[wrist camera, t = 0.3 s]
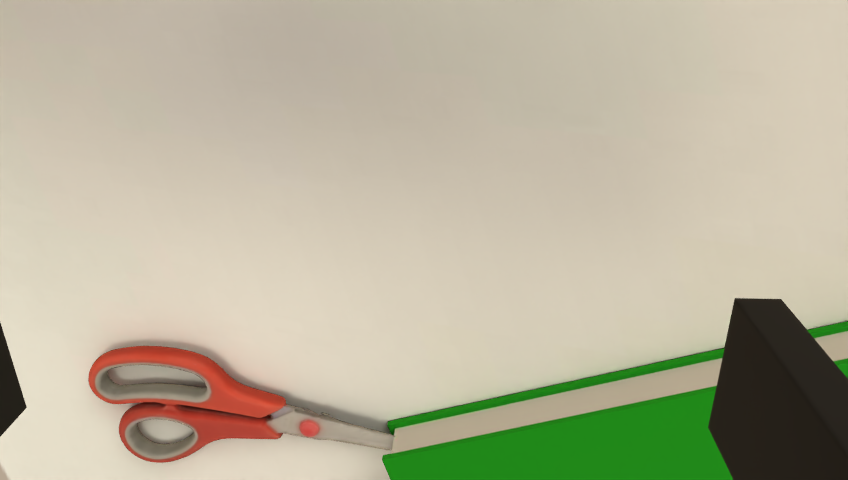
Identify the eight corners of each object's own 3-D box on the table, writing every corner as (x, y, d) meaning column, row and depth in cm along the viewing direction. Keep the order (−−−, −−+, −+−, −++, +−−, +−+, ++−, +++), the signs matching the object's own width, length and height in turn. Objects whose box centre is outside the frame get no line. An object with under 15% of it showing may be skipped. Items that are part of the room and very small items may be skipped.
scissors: (481, 466, 38) (481, 486, 37) (120, 449, 40) (107, 467, 39) (484, 351, 35) (484, 368, 34) (90, 337, 37) (76, 353, 35)
